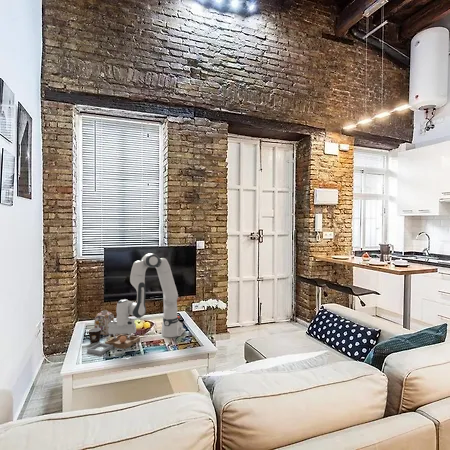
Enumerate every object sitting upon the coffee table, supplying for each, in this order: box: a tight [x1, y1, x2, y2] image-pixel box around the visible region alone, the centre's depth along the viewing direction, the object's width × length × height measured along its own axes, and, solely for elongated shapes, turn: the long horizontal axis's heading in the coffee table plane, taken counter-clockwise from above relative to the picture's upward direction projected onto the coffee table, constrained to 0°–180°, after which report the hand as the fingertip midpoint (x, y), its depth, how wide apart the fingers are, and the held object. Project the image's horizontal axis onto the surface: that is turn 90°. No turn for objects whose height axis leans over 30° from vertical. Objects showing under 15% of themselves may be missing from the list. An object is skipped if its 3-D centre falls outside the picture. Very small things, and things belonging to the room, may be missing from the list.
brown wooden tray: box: [104, 334, 141, 350], centre depth 245 cm, size 18×18×4 cm
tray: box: [86, 342, 114, 356], centre depth 233 cm, size 12×12×3 cm
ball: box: [119, 336, 126, 343], centre depth 245 cm, size 5×5×5 cm
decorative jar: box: [93, 310, 115, 336], centre depth 270 cm, size 12×12×18 cm
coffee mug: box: [83, 328, 101, 345], centre depth 248 cm, size 12×9×10 cm
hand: (122, 339), depth 246 cm, fingers open, 8 cm apart
